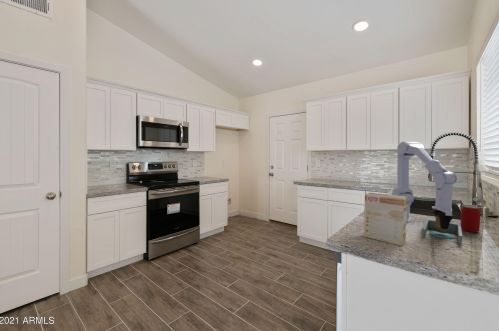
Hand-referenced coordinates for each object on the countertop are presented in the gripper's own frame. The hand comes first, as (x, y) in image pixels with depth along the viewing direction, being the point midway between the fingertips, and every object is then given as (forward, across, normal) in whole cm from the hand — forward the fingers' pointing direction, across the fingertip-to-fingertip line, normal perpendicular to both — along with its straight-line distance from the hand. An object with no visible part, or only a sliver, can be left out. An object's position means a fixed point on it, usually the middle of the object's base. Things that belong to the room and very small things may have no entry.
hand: (442, 227), depth 106 cm
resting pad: (+4, 0, 0) cm, 4 cm away
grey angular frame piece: (+4, 0, 0) cm, 4 cm away
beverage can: (+4, -13, +14) cm, 20 cm away
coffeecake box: (+4, +17, -25) cm, 30 cm away
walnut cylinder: (+2, 0, 0) cm, 2 cm away
